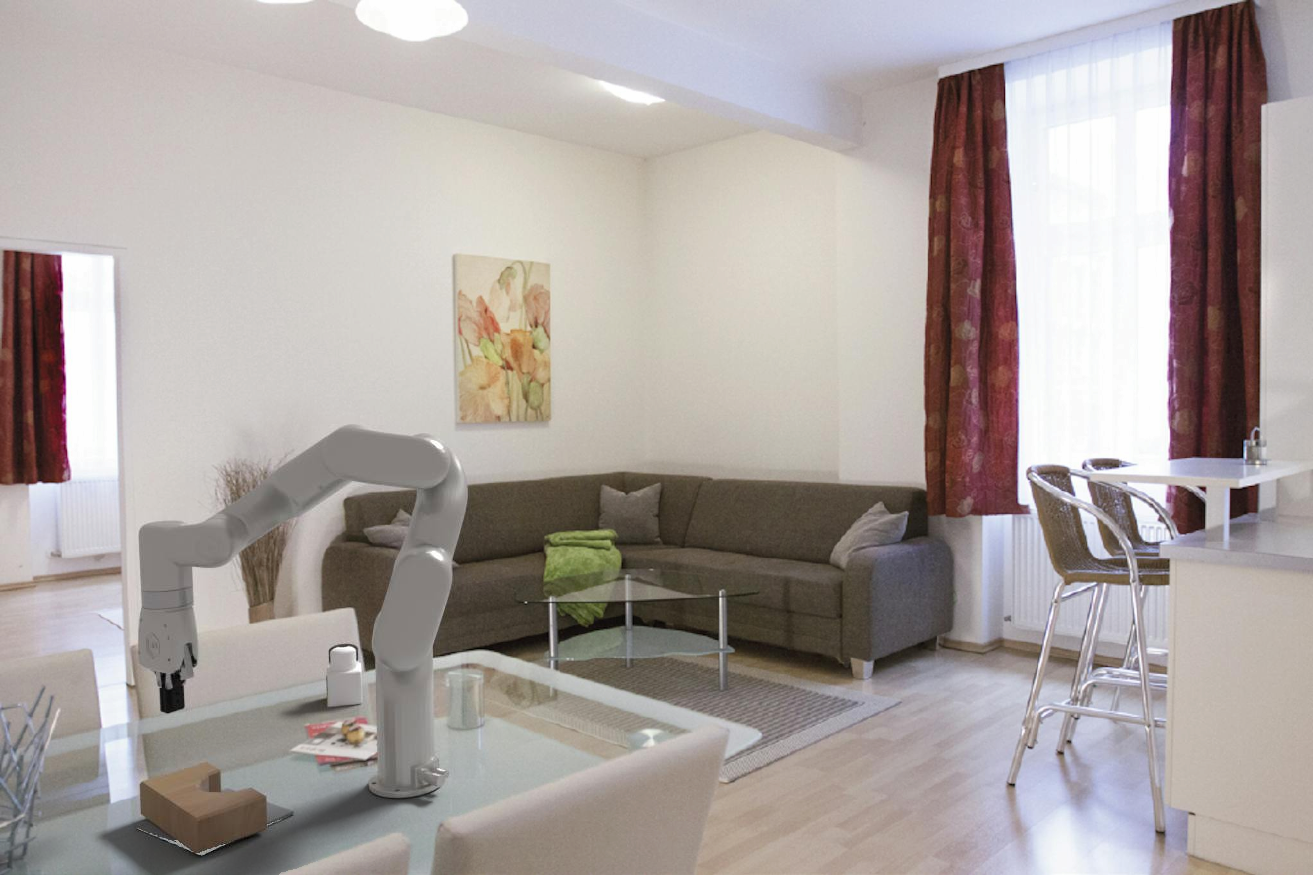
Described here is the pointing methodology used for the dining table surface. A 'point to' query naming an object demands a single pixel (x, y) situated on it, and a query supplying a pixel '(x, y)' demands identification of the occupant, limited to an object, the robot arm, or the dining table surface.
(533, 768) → the dining table surface
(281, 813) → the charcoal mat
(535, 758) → the dining table surface
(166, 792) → the decorative block
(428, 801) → the dining table surface
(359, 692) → the medicine bottle
